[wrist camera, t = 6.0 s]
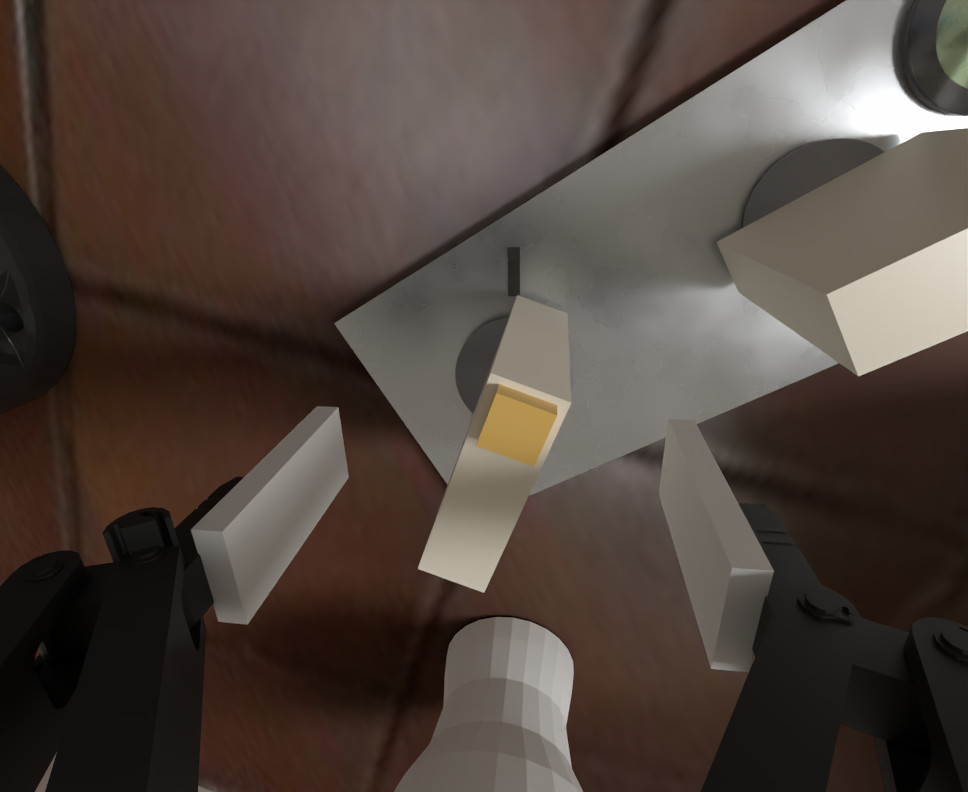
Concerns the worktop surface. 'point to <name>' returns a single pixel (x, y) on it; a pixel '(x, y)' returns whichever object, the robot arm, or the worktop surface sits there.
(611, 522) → the worktop surface
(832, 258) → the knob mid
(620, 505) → the worktop surface
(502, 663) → the cup
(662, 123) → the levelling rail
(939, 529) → the worktop surface
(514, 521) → the slab with yellow pad
